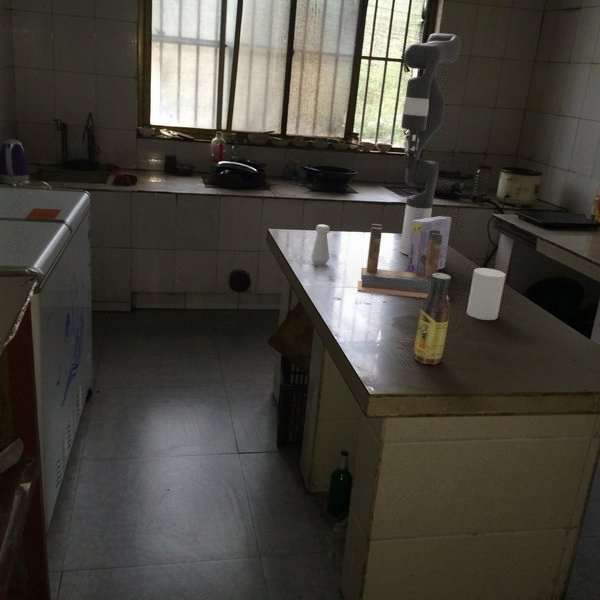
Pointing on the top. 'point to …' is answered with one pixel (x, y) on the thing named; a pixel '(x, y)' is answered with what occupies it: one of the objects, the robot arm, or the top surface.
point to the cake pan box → (426, 242)
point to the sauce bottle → (433, 322)
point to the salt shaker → (321, 246)
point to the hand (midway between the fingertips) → (408, 166)
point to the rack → (372, 265)
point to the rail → (396, 282)
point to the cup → (485, 293)
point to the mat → (391, 291)
